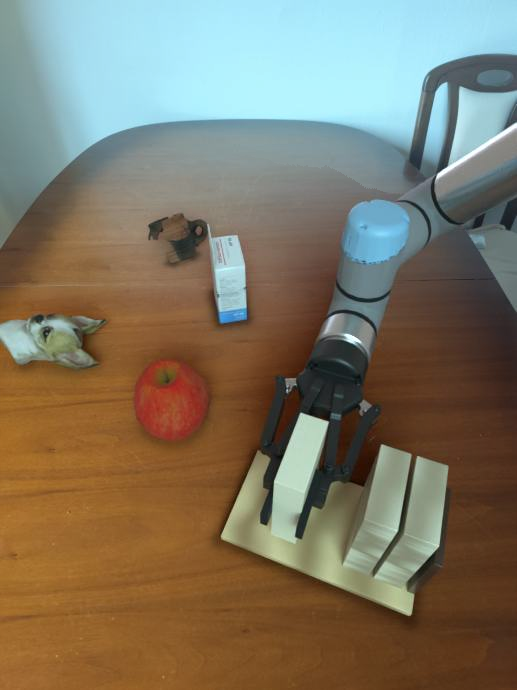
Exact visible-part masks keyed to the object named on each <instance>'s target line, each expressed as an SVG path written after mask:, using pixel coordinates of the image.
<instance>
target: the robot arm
mask: <svg viewBox="0 0 517 690" xmlns="http://www.w3.org/2000/svg"><path fill="white" fill-rule="evenodd" d="M515 199H517V121H516V122H514V123H513V124H511V125H510V126H508V127H506V128H505V129H503V130H502V131H501V132H499V133H497V134H496V135H494V136H492V137H491V138H490V139H488V140H487V141H485V142H483V143H482V144H480V145H479V146H477V147H475V148H474V149H472V150H471V151H469V152H468V153H466V154H465V155H463V156H461V157H460V158H458V159H457V160H456V161H454V162H452V163H451V164H449V165H448V166H446V167H445V168H443V169H442V170H441V171H439V172H438V173H435V174H434V175H432V176H431V177H428V178H426V179H425V180H423V181H421V182H420V183H419V184H416V186H414V187H413V188H412V189H410V190H408V191H407V192H406V193H404V194H403V195H402V196H400V197H399V198H398V199H396V200H395V201H389V200H385V199H372V200H370V201H361V202H359V203H357V204H355V205H354V206H353V207H352V208H351V209H350V211H349V213H348V215H347V218H346V222H345V226H344V229H343V232H342V235H341V243H340V252H339V258H338V264H337V270H336V278H335V282H334V287H333V294H332V299H331V303H330V304H329V305H330V306H329V308H328V311H327V314H326V317H325V319H324V321H323V323H322V325H321V328H320V330H319V332H318V334H317V337H316V339H315V342H314V345H313V347H312V349H311V352H310V354H309V356H308V360H307V362H306V364H305V367H304V369H303V370H302V371H301V372H300V373H299V374H298V375H296V378H286V377H285V376H284V375H283V374H277V375H275V377H274V379H275V380H274V396H273V399H272V403H271V406H270V409H269V412H268V415H267V418H266V421H265V424H264V427H263V430H262V432H261V436H260V442H259V443H260V444H259V445H260V447H259V448H260V450H259V451H261V453H262V454H263V455H267V456H268V457H269V458H270V462H269V464H268V467H267V469H266V472H265V474H264V477H263V488H265V489H267V490H269V492H268V495H267V497H266V500H265V502H264V505H263V507H262V510H261V513H260V524H263V525H265V526H267V525H268V522H269V519H270V516H271V514H272V507H273V490H274V480H275V477H276V475H277V472H278V470H279V467H280V465H281V462H282V459H283V457H284V454H285V452H286V449H287V446H288V444H289V441H290V439H291V436H292V433H293V431H294V428H295V426H296V423H297V420H298V418H299V414H300V413H304V414H307V415H310V416H313V417H321V418H323V419H324V420H325V421H328V422H329V425H328V430H327V434H326V439H325V444H324V453H323V461H322V467H321V469H319V470H318V469H316V470H315V473H314V476H313V479H312V482H311V485H310V488H309V491H308V494H307V497H306V500H305V503H304V506H303V509H302V512H301V515H300V518H299V521H298V524H297V527H296V532H295V537H296V538H298V539H301V540H302V538H303V534H304V531H305V528H306V525H307V522H308V518H309V515H310V512H311V509H312V506H313V507H315V508H318V509H322V508H323V507H324V505H325V502H326V498H327V495H328V491H329V488H330V485H331V484H332V483H333V482H335V481H340V482H342V483H344V484H345V483H348V482H350V481H351V477H352V475H353V472H354V469H355V467H356V464H357V462H358V459H359V456H360V454H361V451H362V448H363V446H364V443H365V442H366V439H367V435H368V433H369V431H370V430H371V429H372V428H373V427H374V426H375V425H376V424H377V423H378V421H379V419H380V415H381V413H382V410H383V408H382V406H381V405H379V404H377V403H374V404H371V403H369V402H368V401H367V400H366V399H364V398H365V396H364V395H365V394H364V391H363V387H364V385H365V384H364V383H365V380H366V377H367V373H368V370H369V365H370V362H371V359H372V356H373V352H374V350H375V346H376V343H377V338H378V334H379V330H380V328H381V324H382V322H383V318H384V315H385V312H386V310H387V306H388V303H389V299H390V294H391V291H392V288H393V284H394V281H395V278H396V275H397V272H398V270H399V269H400V267H401V266H402V265H404V264H405V263H406V262H408V261H409V260H410V259H412V258H413V257H414V256H415V255H417V254H418V253H419V252H420V251H422V250H423V249H425V248H426V246H428V245H430V244H431V243H432V242H433V241H435V240H437V238H439V237H440V236H443V235H444V234H446V233H448V232H450V231H452V230H454V229H456V228H458V227H461V226H462V225H464V224H466V223H468V222H469V221H471V220H473V219H475V218H477V217H479V216H482V215H484V214H486V213H488V212H490V211H492V210H494V209H496V208H498V207H500V206H502V205H505V204H506V203H509V202H511V201H513V200H515ZM294 390H296V392H297V395H298V398H299V400H300V405H299V407H298V408H297V411H296V413H294V415H293V417H292V419H291V420H290V422H289V424H288V425H287V427H286V428H285V430H284V431H283V433H282V435H281V436H280V438H279V440H278V441H277V443H276V442H275V439H276V436H277V432H278V430H279V425H280V422H281V419H282V416H283V412H284V409H285V406H286V399H288V398H289V397H291V396H292V394H293V391H294ZM357 409H358V411H359V412H358V415H357V417H358V420H359V422H358V425H357V428H356V430H355V433H354V435H353V437H352V440H351V443H350V445H349V447H348V450H347V452H346V455H345V458H344V460H343V462H342V464H336V463H337V456H338V455H337V454H338V447H339V438H340V432H341V431H340V429H341V421H342V419H343V418H344V417H345V416H348V415H349V414H351V413H352V412H354V411H356V410H357Z"/></svg>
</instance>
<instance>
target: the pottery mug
mask: <svg viewBox="0 0 517 690" xmlns="http://www.w3.org/2000/svg"><path fill="white" fill-rule="evenodd" d="M207 224H208V223H207V222H206V221H205V220H203V219H194V220H189V219H187V218H186V217H185V214H184V213H183V212H178V213H176V214H173V215H172V216H170V217H169V216H165V217H163V218H160V219H157V220H155V221H152V222H150V223H149V224H147V227H148V229H149V231H148V235H147V240H148V241H151V238H152V240H153V241H158V240H159V235H160V233H162V236H163V238H164V240H165V241H167V242H169V243H170V245H172V247H173V250H171V251H169V252H166V253H165V256H166V258H167V259H168V262H169V264H175V263H178V262H182V261H184V260H188V259H191V258H192V257H194V256H196V254H197V253H196V252H197V251H196V247H199V246H200V244H201V243H202V242H203V241H205V240H206V239H207V238H208V226H207ZM198 227H199V228H201V232H200V234H198V233H197V229H198ZM188 230H189V231H188Z"/></svg>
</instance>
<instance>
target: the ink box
mask: <svg viewBox="0 0 517 690" xmlns="http://www.w3.org/2000/svg"><path fill="white" fill-rule="evenodd" d="M207 226H208V235H207V238H208V246H209V247H208V248H209V256H210V257H209V258H210V265H211V275H212V285H213V294H214V299H215V305H216V311H217V315H218V321H219V324H228V323H234V322H239V321H247V320H248V307H247V277H246V276H247V275H246V263H245V258H244V255H243V251H242V246H241V244H240V239H239V238H238V235H237V234H234V235H225V236H223V235H222V236H216V237H212V233H211V228H210V223H207Z"/></svg>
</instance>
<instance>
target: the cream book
mask: <svg viewBox="0 0 517 690" xmlns="http://www.w3.org/2000/svg"><path fill="white" fill-rule="evenodd" d="M328 425H329V420H326V419H322V418H319V417H317V416H314V415H312V416H310V415H307V414H304V413H300V414H299V418H298V420H297V423H296V426H295V428H294V431H293V433H292V436H291V439H290V441H289V444H288V446H287V449H286V452H285V454H284V457H283V459H282V462H281V465H280V467H279V470H278V472H277V475H276V477H275V480H274V490H273V507H272V521H271V535H274V536H276V537H279V538H281V539H284V540H286V541H289V542H291V543H294V544H296V540H297V538H296V537H295V532H296V527H297V524H298V521H299V518H300V515H301V512H302V509H303V506H304V503H305V500H306V497H307V494H308V491H309V488H310V485H311V482H312V479H313V476H314V473H315V470H316V469H318V470H320V465H321V461H322V456H323V451H324V449H325V444H326V438H327V431H328Z"/></svg>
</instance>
